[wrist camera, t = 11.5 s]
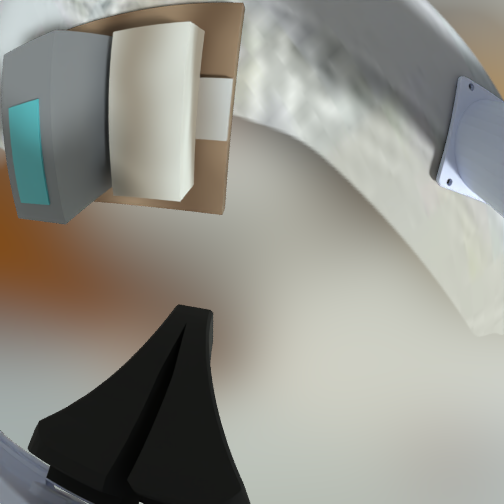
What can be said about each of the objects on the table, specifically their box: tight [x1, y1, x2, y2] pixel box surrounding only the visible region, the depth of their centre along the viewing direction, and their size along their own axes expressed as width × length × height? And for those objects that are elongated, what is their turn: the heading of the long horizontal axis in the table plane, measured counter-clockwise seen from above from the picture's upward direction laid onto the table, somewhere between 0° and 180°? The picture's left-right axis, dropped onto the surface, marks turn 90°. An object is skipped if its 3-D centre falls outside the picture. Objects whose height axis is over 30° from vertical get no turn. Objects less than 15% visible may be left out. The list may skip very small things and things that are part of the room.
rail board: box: [66, 3, 245, 215], centre depth 13 cm, size 17×13×4 cm
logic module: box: [2, 30, 113, 224], centre depth 11 cm, size 4×9×6 cm, turn 174°
